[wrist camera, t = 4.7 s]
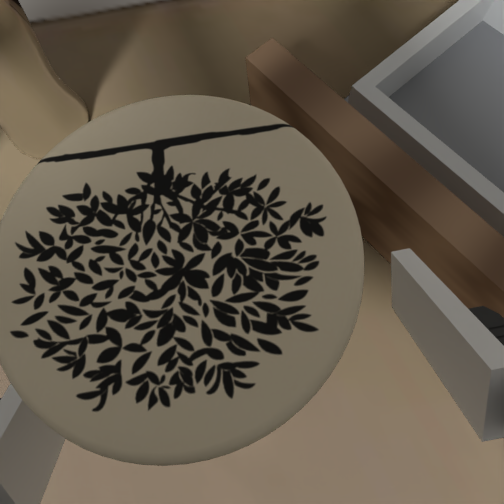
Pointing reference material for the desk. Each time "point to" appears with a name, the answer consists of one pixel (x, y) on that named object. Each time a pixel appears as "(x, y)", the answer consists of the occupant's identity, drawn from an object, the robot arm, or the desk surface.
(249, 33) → the desk surface
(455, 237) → the door edge rail
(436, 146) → the socket
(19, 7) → the beer glass
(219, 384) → the travel mug
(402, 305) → the robot arm
